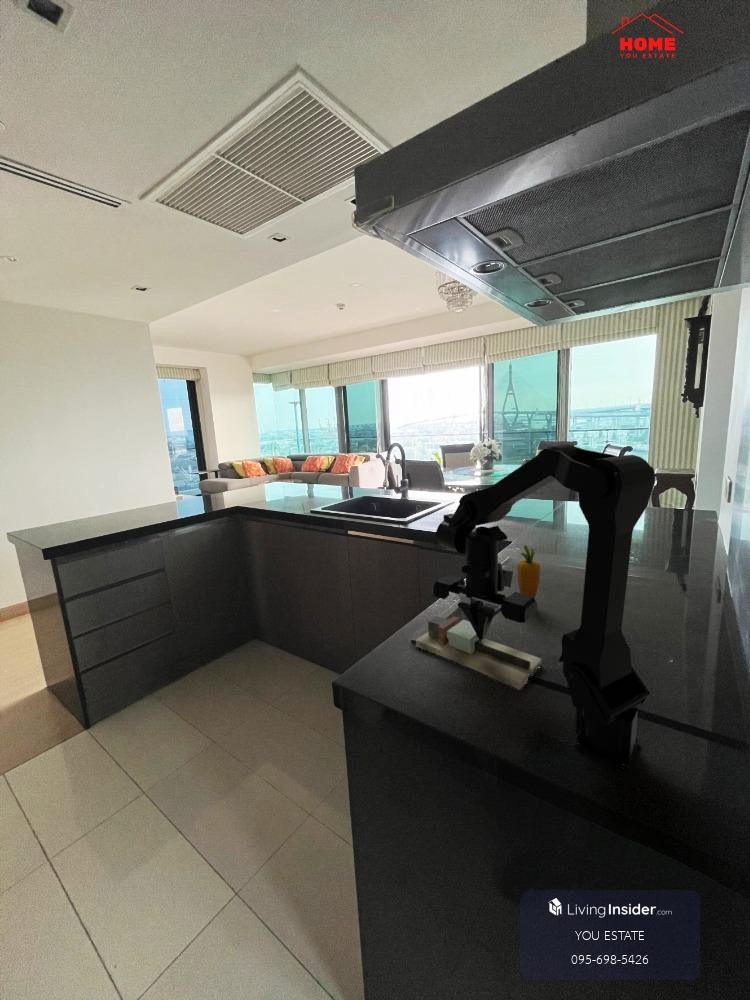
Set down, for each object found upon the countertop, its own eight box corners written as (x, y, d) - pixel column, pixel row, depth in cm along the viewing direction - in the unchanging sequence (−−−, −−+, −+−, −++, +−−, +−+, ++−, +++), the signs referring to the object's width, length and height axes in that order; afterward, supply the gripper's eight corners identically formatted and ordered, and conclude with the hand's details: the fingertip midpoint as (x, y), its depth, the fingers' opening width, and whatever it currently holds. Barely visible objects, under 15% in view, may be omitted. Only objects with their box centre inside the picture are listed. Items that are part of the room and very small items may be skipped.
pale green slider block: (485, 641, 81) (485, 626, 81) (469, 655, 77) (469, 639, 76) (463, 634, 85) (463, 619, 84) (447, 646, 80) (446, 631, 80)
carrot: (540, 612, 96) (541, 550, 93) (517, 610, 97) (518, 549, 94) (537, 602, 101) (539, 543, 98) (516, 601, 102) (517, 543, 99)
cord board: (541, 666, 76) (542, 640, 75) (520, 690, 69) (520, 663, 68) (441, 629, 91) (440, 607, 90) (416, 646, 84) (415, 623, 83)
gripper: (550, 557, 74) (548, 637, 77) (461, 540, 87) (462, 609, 90) (523, 576, 67) (522, 664, 70) (429, 555, 79) (431, 629, 82)
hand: (481, 638), depth 78 cm, fingers closed
